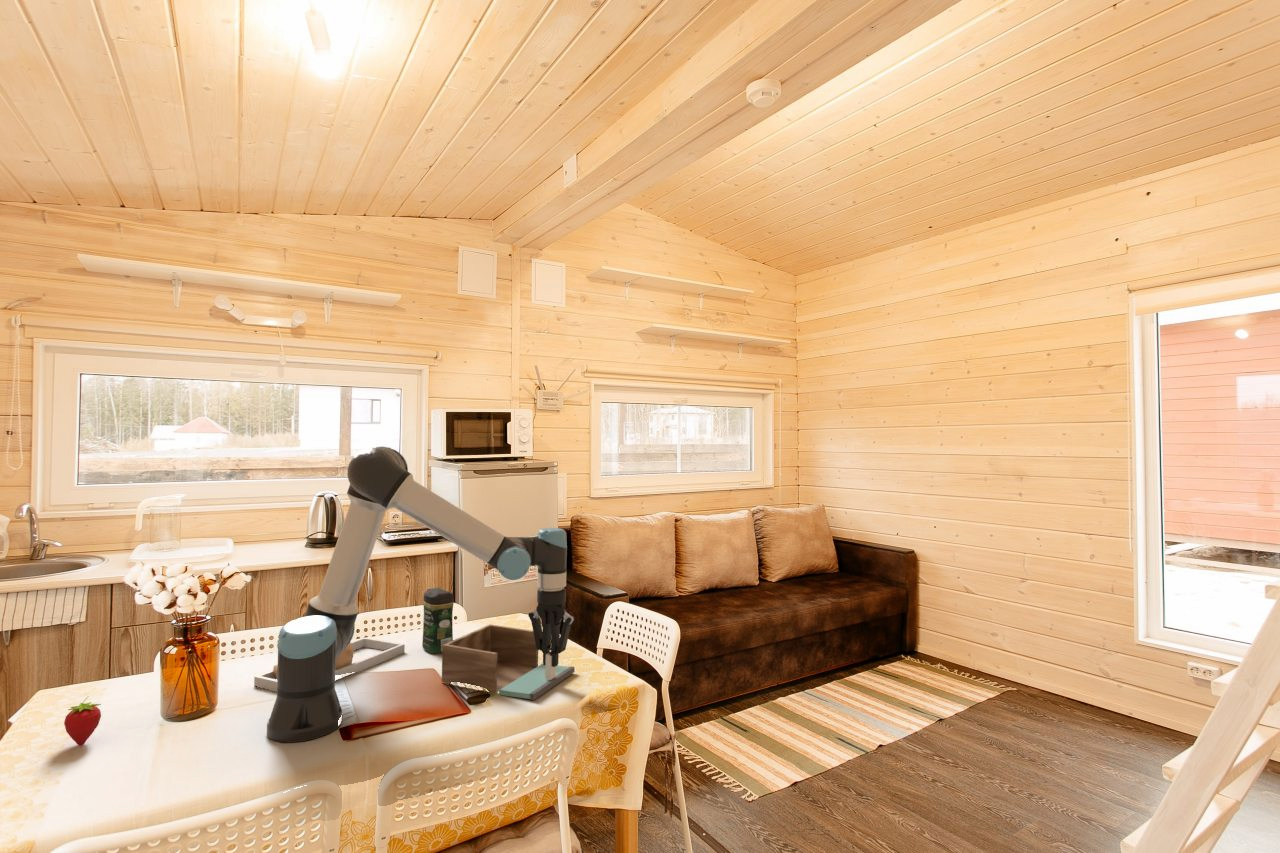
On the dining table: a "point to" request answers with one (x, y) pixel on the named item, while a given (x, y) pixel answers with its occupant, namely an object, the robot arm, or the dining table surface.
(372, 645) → the serving tray
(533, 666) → the crate
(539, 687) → the panel
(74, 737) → the decorative fruit
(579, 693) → the dining table surface
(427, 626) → the coffee jar
